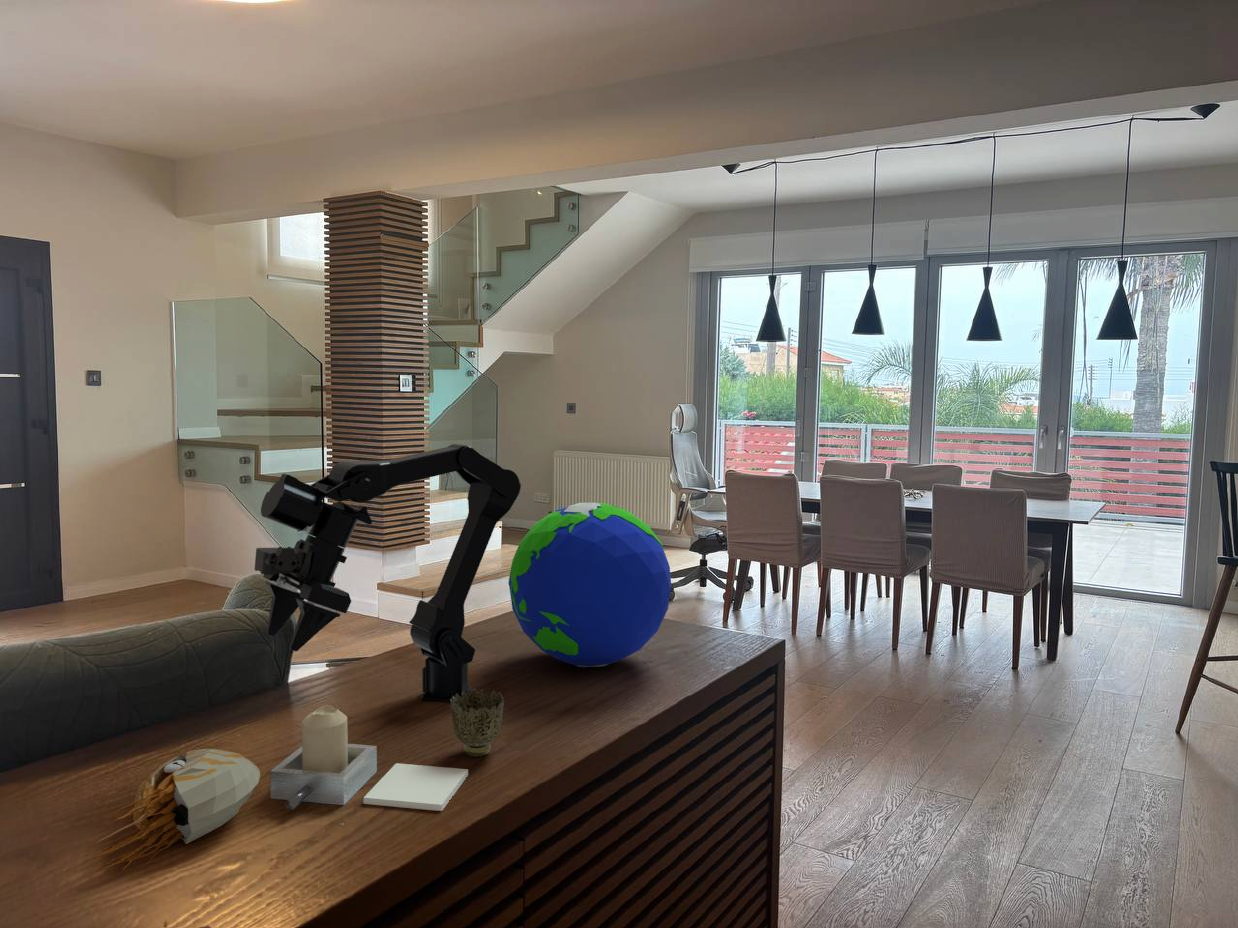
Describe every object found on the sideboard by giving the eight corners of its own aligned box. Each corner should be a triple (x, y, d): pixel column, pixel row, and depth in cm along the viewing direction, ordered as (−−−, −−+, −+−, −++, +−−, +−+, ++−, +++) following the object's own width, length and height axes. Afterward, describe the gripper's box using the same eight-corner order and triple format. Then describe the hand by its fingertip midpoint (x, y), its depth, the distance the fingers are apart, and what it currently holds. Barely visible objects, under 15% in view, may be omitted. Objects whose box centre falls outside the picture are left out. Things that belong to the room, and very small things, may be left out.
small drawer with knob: (376, 771, 119) (376, 745, 119) (328, 820, 105) (327, 792, 105) (309, 765, 120) (308, 740, 120) (252, 813, 107) (252, 785, 107)
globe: (704, 668, 164) (708, 505, 161) (574, 704, 144) (576, 520, 142) (601, 631, 186) (603, 488, 183) (477, 658, 167) (477, 499, 164)
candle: (309, 775, 117) (308, 701, 116) (352, 774, 118) (351, 700, 117) (297, 794, 112) (296, 717, 111) (342, 793, 112) (341, 716, 111)
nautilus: (138, 902, 90) (40, 873, 96) (294, 799, 109) (205, 781, 115) (127, 828, 89) (30, 804, 95) (287, 737, 108) (198, 722, 114)
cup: (513, 746, 127) (513, 692, 127) (489, 767, 121) (489, 710, 120) (466, 739, 130) (466, 685, 129) (440, 759, 123) (440, 702, 122)
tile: (468, 775, 118) (468, 769, 118) (441, 810, 108) (441, 804, 108) (396, 768, 120) (396, 763, 120) (363, 803, 110) (363, 797, 110)
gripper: (254, 513, 134) (208, 612, 131) (301, 531, 120) (250, 642, 117) (320, 539, 141) (277, 633, 138) (371, 559, 127) (325, 664, 124)
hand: (281, 642), depth 129 cm, fingers open, 9 cm apart
